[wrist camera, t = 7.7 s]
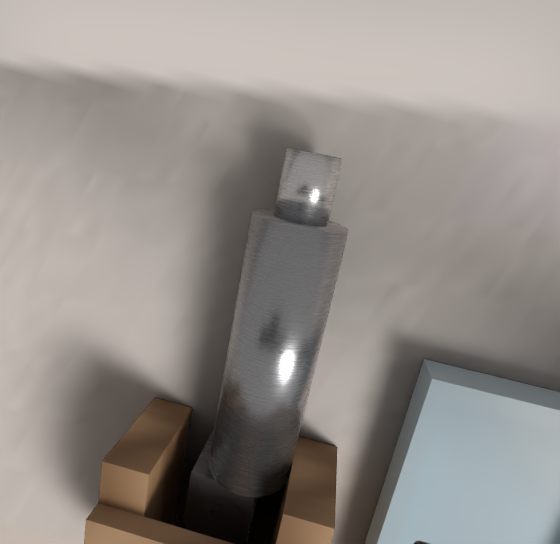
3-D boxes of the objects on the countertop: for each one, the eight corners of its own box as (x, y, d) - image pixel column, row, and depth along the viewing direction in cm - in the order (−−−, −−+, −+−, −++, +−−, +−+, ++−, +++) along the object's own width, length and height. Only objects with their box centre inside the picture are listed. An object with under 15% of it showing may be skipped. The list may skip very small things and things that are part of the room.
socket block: (337, 446, 19) (334, 548, 14) (297, 589, 21) (283, 720, 16) (154, 397, 20) (89, 476, 15) (136, 539, 22) (75, 649, 17)
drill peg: (338, 159, 17) (384, 167, 13) (276, 434, 20) (300, 493, 17) (253, 141, 15) (281, 145, 12) (203, 438, 19) (215, 501, 16)
